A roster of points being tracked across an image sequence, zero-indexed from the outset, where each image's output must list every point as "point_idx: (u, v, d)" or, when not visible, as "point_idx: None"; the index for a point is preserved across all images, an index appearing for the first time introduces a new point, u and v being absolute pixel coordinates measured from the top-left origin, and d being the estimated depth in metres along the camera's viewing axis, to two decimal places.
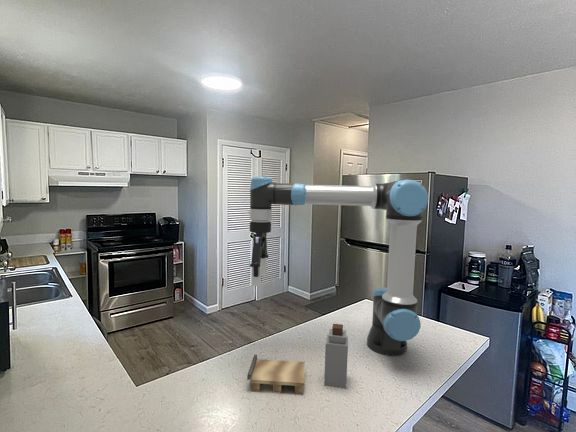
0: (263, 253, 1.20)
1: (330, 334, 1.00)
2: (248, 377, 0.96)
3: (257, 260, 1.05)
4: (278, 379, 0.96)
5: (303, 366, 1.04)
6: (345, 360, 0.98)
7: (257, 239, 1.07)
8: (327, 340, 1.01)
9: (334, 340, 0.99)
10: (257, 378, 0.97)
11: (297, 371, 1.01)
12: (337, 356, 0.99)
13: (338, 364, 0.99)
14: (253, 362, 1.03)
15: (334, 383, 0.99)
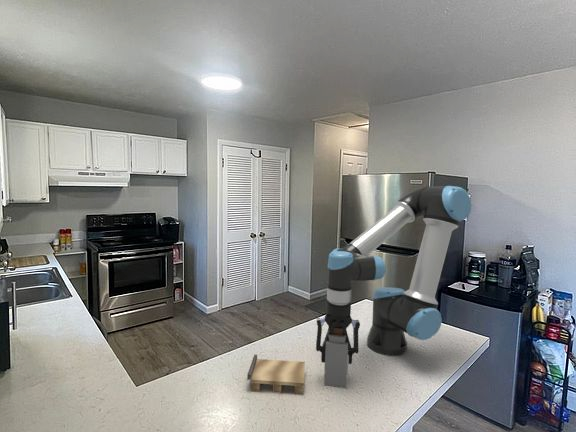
0: None
1: (330, 334, 1.00)
2: (248, 377, 0.96)
3: (316, 344, 1.01)
4: (278, 379, 0.96)
5: (303, 366, 1.04)
6: (345, 360, 0.98)
7: (317, 322, 1.02)
8: None
9: (334, 340, 0.99)
10: (257, 378, 0.97)
11: (297, 371, 1.01)
12: (337, 356, 0.99)
13: (338, 364, 0.99)
14: (253, 362, 1.03)
15: (334, 383, 0.99)
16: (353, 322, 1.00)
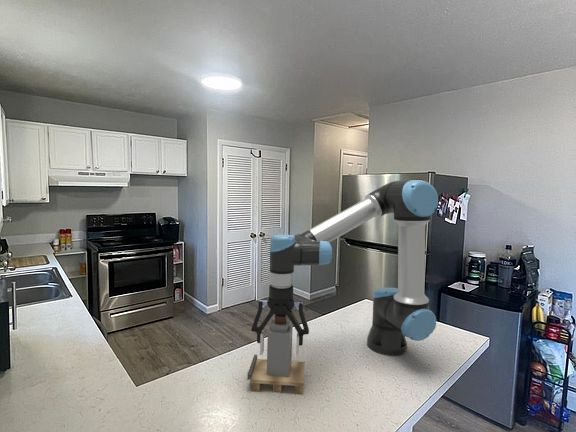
0: None
1: (273, 323, 0.99)
2: (248, 377, 0.96)
3: None
4: (278, 379, 0.96)
5: (303, 366, 1.04)
6: (287, 349, 0.97)
7: (259, 303, 1.00)
8: (270, 329, 1.00)
9: (276, 329, 0.98)
10: (257, 378, 0.97)
11: (297, 371, 1.01)
12: (279, 345, 0.97)
13: (280, 353, 0.98)
14: (253, 362, 1.03)
15: (276, 372, 0.98)
16: (296, 304, 0.99)
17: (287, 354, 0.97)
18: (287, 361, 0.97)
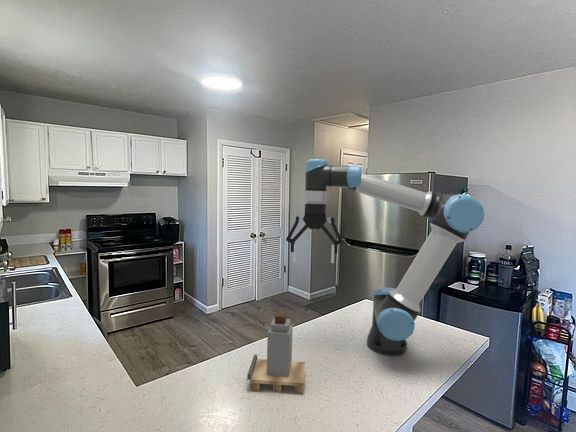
0: (330, 238, 1.15)
1: (273, 323, 0.99)
2: (248, 377, 0.96)
3: None
4: (278, 379, 0.96)
5: (303, 366, 1.04)
6: (287, 348, 0.97)
7: (296, 218, 1.16)
8: (270, 329, 1.00)
9: (276, 329, 0.98)
10: (257, 378, 0.97)
11: (297, 371, 1.01)
12: (279, 345, 0.97)
13: (280, 353, 0.98)
14: (253, 362, 1.03)
15: (276, 372, 0.98)
16: (328, 219, 1.15)
17: (287, 354, 0.97)
18: (287, 361, 0.97)
